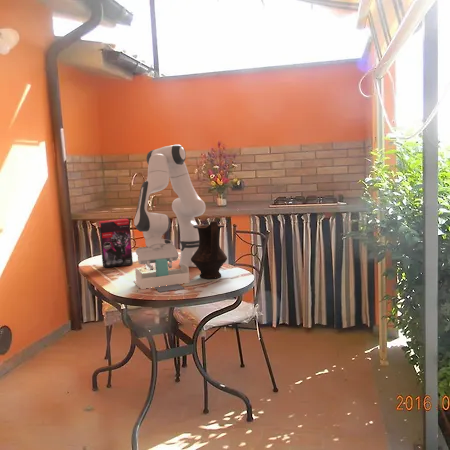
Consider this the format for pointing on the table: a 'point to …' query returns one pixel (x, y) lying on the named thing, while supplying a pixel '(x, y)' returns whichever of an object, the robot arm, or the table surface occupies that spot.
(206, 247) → the jug
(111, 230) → the graphics card box
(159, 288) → the slate mat
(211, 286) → the table surface
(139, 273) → the carton
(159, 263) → the teal box
